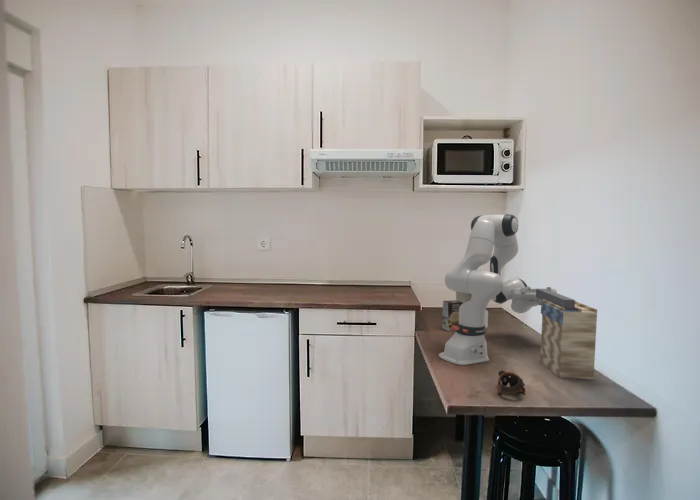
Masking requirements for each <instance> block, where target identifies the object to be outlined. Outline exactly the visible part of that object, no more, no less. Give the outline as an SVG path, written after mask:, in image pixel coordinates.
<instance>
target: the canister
mask: <svg viewBox="0 0 700 500" xmlns="http://www.w3.org/2000/svg"><path fill="white" fill-rule="evenodd" d="M471 297H472V294H468V293H460V292H456V291H455V300H457V301H460V302H463V303H465V302H467V301H470V300H471Z"/></svg>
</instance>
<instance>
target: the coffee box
mask: <svg viewBox="0 0 700 500" xmlns="http://www.w3.org/2000/svg"><path fill="white" fill-rule="evenodd" d="M462 304H463V302H460V301H457V300H456V299H454V300H443V301H442V320H441V328H442V329H443V330H445V331H447V332H451V331H453V332H454V331H455V332H456V330H453V329H452V326H453V325H455V326H457V325H458V323H459V308H460V306H461V305H462Z"/></svg>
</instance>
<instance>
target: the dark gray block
mask: <svg viewBox="0 0 700 500" xmlns="http://www.w3.org/2000/svg"><path fill="white" fill-rule="evenodd" d="M536 298H539V299H541V300H543V299H545V300H547V301H549V302H551V303H554V304H556V305H558V306H560V307H563V308H565V310H575V301H576V300H575V299H573V298H571V297H568V296H565V295H562V294H560V293H558V292H557V293H555V292H552V291H550V290H547V288H536Z"/></svg>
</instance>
